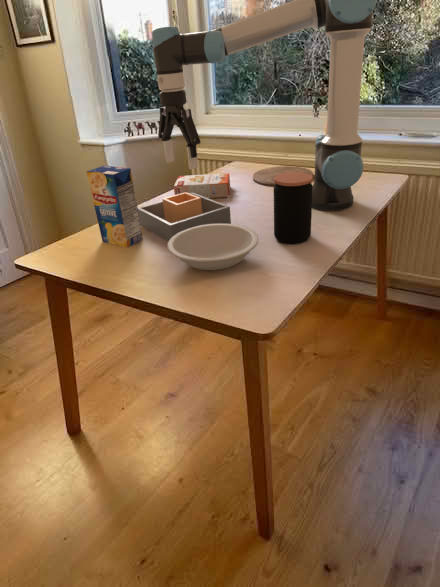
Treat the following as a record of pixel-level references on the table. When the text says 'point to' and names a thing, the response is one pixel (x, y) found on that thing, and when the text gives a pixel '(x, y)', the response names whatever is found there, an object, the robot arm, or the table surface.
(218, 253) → the soup bowl
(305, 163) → the table surface
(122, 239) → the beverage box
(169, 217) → the orange crate
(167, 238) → the charcoal crate
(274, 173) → the trivet
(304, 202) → the coffee jar
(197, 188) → the cracker box
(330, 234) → the table surface
